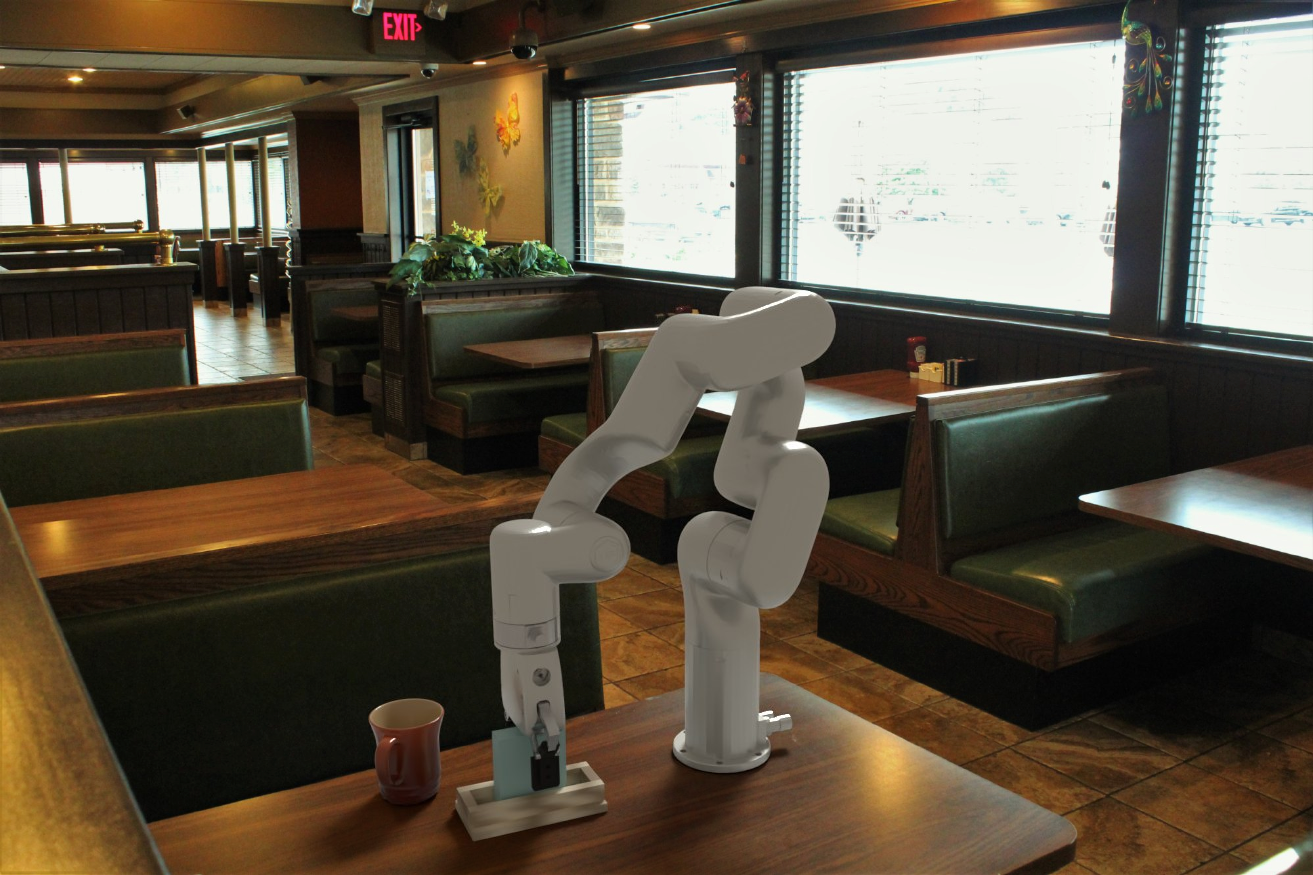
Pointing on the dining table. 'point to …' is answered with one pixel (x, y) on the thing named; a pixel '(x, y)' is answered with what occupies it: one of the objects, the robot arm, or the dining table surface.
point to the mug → (407, 749)
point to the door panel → (519, 763)
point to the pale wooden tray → (530, 804)
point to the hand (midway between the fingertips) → (532, 768)
